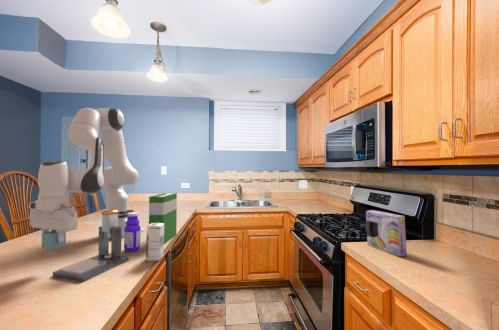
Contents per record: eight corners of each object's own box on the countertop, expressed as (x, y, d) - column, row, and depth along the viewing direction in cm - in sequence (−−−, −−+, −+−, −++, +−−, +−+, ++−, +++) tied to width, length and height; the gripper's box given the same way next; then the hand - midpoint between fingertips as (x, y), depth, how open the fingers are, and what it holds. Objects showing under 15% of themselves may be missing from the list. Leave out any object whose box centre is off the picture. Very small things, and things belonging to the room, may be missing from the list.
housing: (56, 243, 91) (56, 225, 91) (65, 245, 89) (65, 226, 89) (41, 248, 86) (41, 229, 86) (51, 249, 85) (51, 230, 85)
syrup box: (150, 256, 102) (150, 222, 103) (164, 255, 103) (164, 222, 103) (145, 261, 97) (146, 226, 97) (160, 260, 97) (160, 225, 97)
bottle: (142, 249, 111) (143, 212, 111) (132, 253, 106) (132, 214, 106) (132, 247, 114) (132, 211, 114) (121, 251, 109) (121, 213, 109)
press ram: (110, 237, 101) (111, 208, 101) (122, 238, 99) (122, 209, 99) (97, 241, 95) (97, 211, 95) (109, 243, 93) (109, 212, 93)
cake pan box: (364, 244, 120) (364, 209, 120) (372, 243, 121) (372, 209, 121) (398, 257, 101) (398, 216, 102) (407, 256, 103) (407, 216, 103)
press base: (103, 256, 102) (103, 224, 102) (129, 260, 98) (129, 226, 98) (52, 276, 83) (53, 236, 83) (81, 282, 79) (82, 240, 79)
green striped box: (163, 234, 135) (164, 193, 136) (176, 235, 135) (176, 193, 135) (148, 244, 118) (149, 196, 118) (163, 245, 117) (163, 196, 118)
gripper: (82, 203, 88) (82, 240, 88) (44, 201, 94) (44, 236, 94) (65, 206, 82) (65, 246, 82) (25, 203, 88) (25, 240, 88)
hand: (54, 240), depth 88 cm, fingers closed on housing, 5 cm apart
